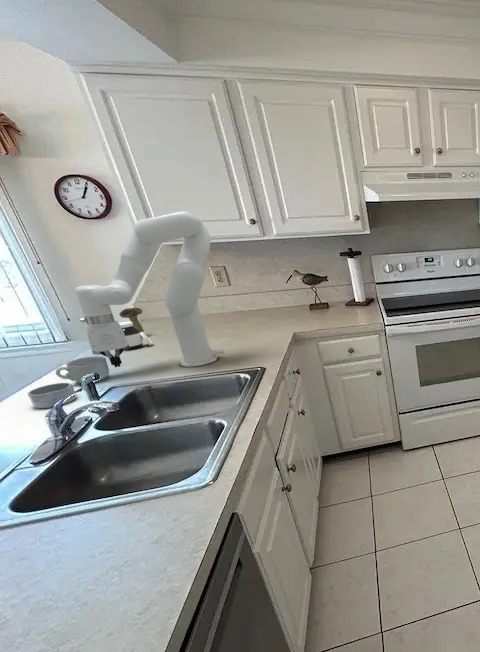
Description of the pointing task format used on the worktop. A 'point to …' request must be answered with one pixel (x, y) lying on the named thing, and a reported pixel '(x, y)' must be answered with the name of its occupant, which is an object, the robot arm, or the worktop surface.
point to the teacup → (85, 368)
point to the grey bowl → (51, 395)
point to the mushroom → (133, 317)
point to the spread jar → (133, 335)
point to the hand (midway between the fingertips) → (117, 366)
